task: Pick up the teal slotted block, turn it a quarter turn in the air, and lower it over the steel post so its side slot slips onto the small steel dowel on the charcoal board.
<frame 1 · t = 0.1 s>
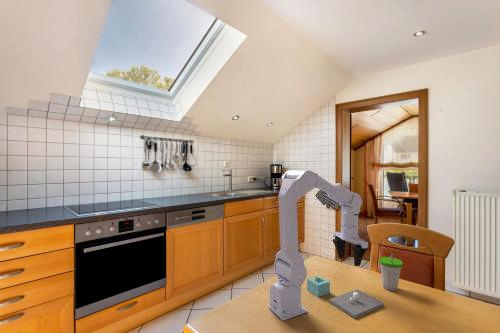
hand: (349, 261, 92), 10 cm above the table, tool pointing down, fingers open, 7 cm apart
teal slotted block: (318, 291, 90), on the table
cup: (390, 289, 93), on the table
post board: (355, 304, 82), on the table
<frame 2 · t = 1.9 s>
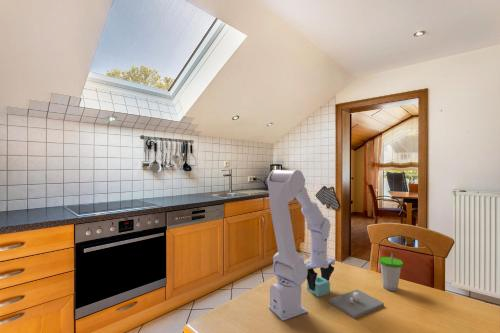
hand: (318, 287, 90), 1 cm above the table, tool pointing down, fingers closed on teal slotted block, 6 cm apart
teal slotted block: (318, 291, 90), on the table, touching gripper
everything else where it was.
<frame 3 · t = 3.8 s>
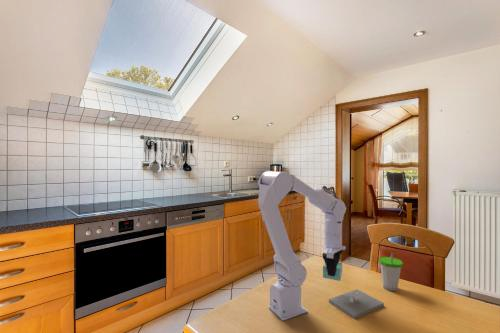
hand: (332, 271, 87), 8 cm above the table, tool pointing down, fingers closed on teal slotted block, 6 cm apart
teal slotted block: (332, 275, 87), point 7 cm above the table, touching gripper
everything else where it was.
when the fingers open (3 cm above the table, at t = 6.2 s): teal slotted block stays where it is, resting on post board.
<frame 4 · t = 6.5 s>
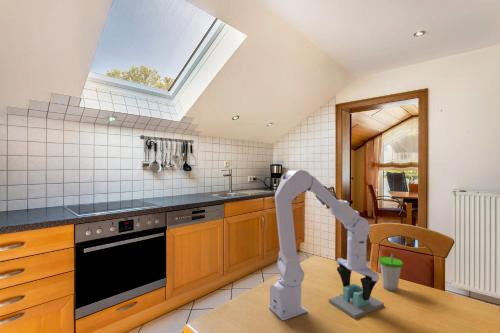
hand: (356, 293, 82), 3 cm above the table, tool pointing down, fingers open, 7 cm apart
teal slotted block: (356, 301, 82), point 1 cm above the table, touching post board
everything else where it was.
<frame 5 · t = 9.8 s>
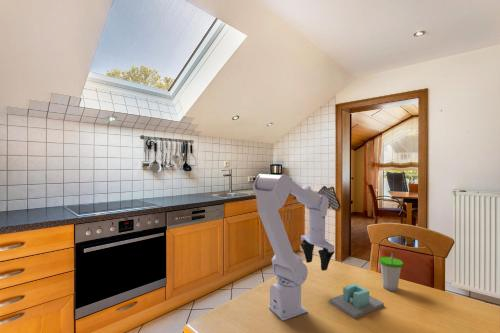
hand: (316, 265, 90), 9 cm above the table, tool pointing down, fingers open, 7 cm apart
nothing on the table moved.
at the end: teal slotted block 0.0 cm from the post board (horizontally); teal slotted block point 1.0 cm above the table; teal slotted block tilted 0° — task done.
